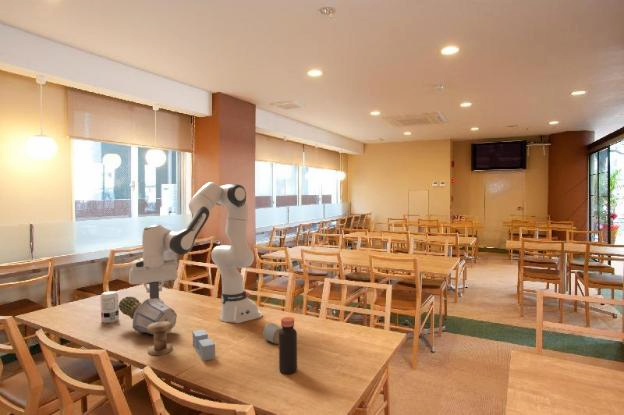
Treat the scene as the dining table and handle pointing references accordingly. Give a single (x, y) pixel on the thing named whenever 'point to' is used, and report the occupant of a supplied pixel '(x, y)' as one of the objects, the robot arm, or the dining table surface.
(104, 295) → the supplement can
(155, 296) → the dark gray rectangular block
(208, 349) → the gray stepped block
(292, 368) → the bottle
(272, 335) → the ceramic mug
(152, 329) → the wooden door knob
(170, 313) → the potted plant
